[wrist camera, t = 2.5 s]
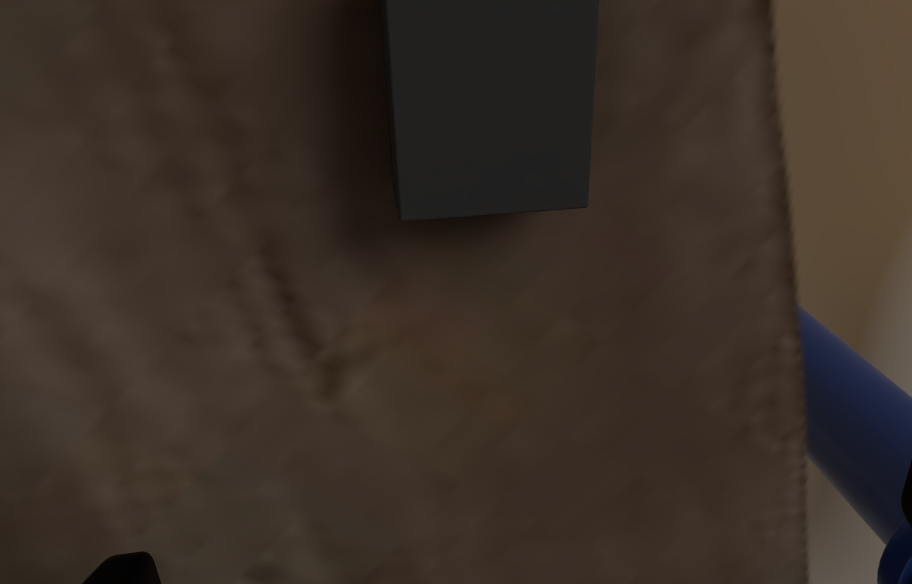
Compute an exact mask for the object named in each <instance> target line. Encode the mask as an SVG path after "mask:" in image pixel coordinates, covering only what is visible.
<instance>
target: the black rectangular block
mask: <svg viewBox="0 0 912 584" xmlns="http://www.w3.org/2000/svg"><path fill="white" fill-rule="evenodd" d="M380 1H381V15H382V30H383V44H384V58H385V72H386V86H387V101H388V115H389V129H390V143H391V157H392V172H393V186H394V192H395V198H396V203H397V208H398V214H399V219H400V221H417V220H430V219H443V218H456V217H470V216H483V215H496V214H510V213H523V212H536V211H549V210H563V209H576V208H586V207H587V206H588V196H589V177H590V158H591V139H592V120H593V101H594V82H595V63H596V44H597V25H598V6H599V0H380Z"/></svg>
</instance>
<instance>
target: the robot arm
mask: <svg viewBox="0 0 912 584" xmlns="http://www.w3.org/2000/svg"><path fill="white" fill-rule="evenodd" d="M901 504H902V509H903V512H904V515H905V517H906V519H907V521H908V523H909V524H910V526H911V527H912V461H911V464H910V468H909V471H908V475H907V478H906V482H905V485H904V489H903V492H902V497H901ZM82 584H161V581H160V578H159V575H158V572H157V569H156V566H155V562H154V560H153V558H152V556H151V555H150V554H149V553H147V552H135V553H128V554H120V555H114V556H111V557H109V558H108V559H106V560H105V561H104V562H103V563H102V564H101V565H100V566H99V567H98V568H97V569H96V570H95V571H94V572H93V573H92V574H91V575H90V576H89V577H88V578H87V579H86V580H85V581H84V582H83V583H82Z"/></svg>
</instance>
